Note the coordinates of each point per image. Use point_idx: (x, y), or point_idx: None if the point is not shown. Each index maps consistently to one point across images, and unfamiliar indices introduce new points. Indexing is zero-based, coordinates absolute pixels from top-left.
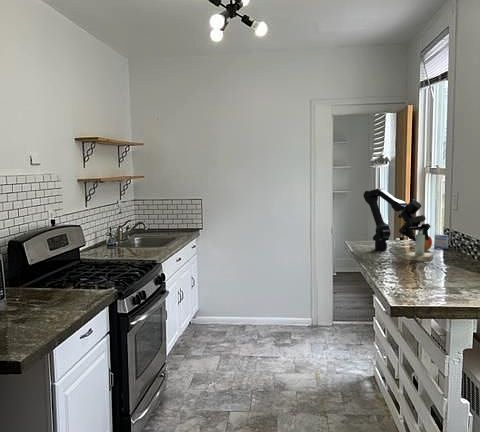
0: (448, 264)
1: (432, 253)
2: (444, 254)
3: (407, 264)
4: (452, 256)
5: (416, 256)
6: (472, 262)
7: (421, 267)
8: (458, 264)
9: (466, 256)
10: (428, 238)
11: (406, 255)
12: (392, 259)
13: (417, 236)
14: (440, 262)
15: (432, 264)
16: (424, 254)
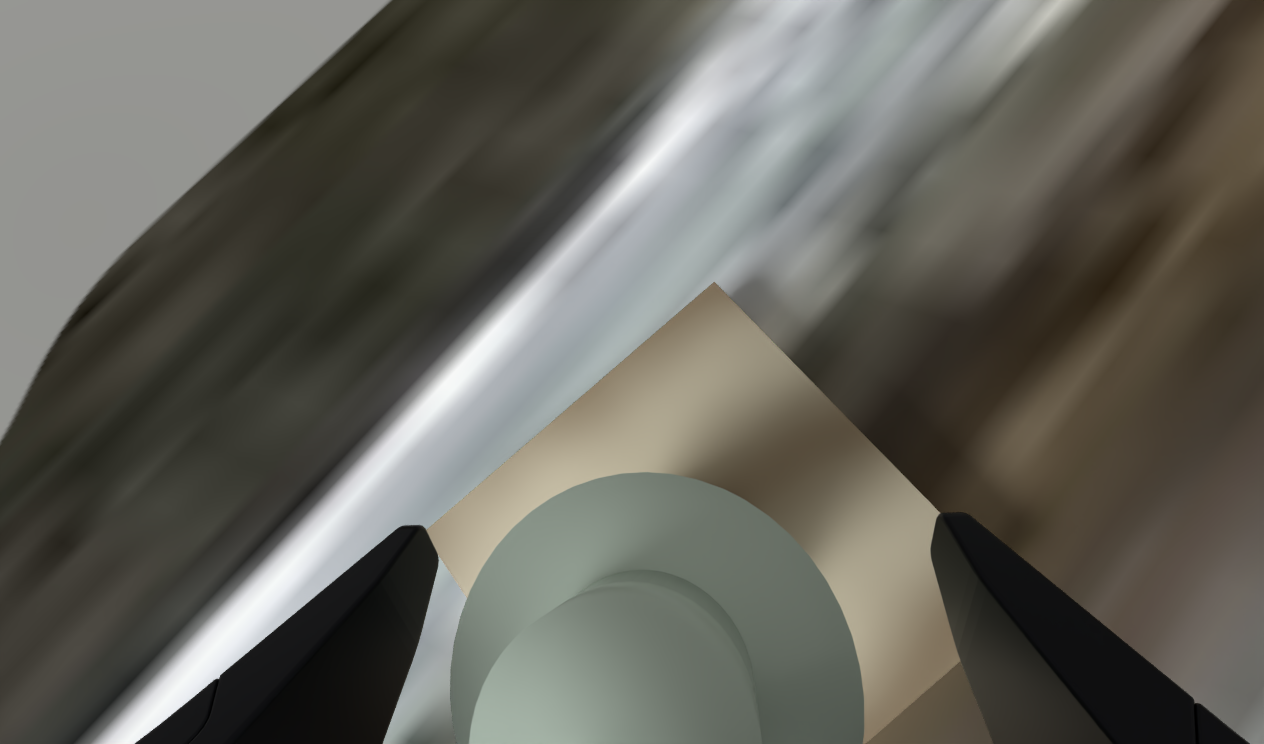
0: (620, 96)
1: (444, 531)
2: (131, 673)
3: (1205, 229)
4: (169, 502)
5: (867, 440)
6: (289, 126)
7: (1107, 17)
8: (513, 72)
9: (40, 435)
10: (386, 545)
11: None
12: (1252, 686)
13: (837, 619)
14: (620, 220)
15: (817, 141)
16: None
